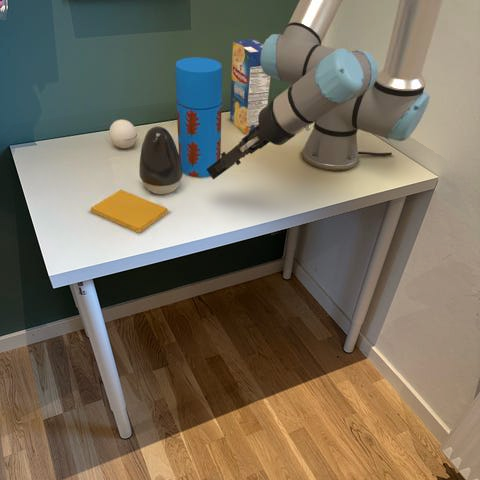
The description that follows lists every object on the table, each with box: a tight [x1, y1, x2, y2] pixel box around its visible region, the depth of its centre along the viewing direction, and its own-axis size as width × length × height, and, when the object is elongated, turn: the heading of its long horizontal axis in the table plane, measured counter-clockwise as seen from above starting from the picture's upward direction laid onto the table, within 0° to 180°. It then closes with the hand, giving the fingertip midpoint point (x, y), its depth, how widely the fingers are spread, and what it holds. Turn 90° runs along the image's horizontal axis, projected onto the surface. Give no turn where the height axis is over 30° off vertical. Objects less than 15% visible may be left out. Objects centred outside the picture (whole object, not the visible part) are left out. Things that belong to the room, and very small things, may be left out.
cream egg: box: [108, 119, 138, 149], centre depth 128 cm, size 10×7×7 cm
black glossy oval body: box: [138, 125, 183, 195], centre depth 110 cm, size 10×10×15 cm
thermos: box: [174, 56, 223, 178], centre depth 115 cm, size 11×11×25 cm
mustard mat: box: [90, 189, 169, 234], centre depth 107 cm, size 14×10×1 cm
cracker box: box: [229, 38, 271, 135], centre depth 137 cm, size 7×11×22 cm, turn 26°
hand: (211, 173), depth 105 cm, fingers closed
